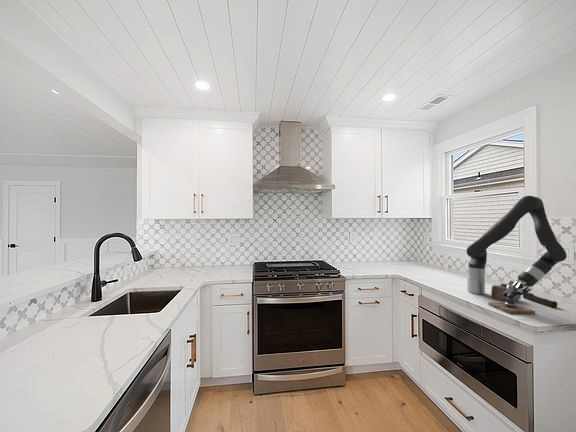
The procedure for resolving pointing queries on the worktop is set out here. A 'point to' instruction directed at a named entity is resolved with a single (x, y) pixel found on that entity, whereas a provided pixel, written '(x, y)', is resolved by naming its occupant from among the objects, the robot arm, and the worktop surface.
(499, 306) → the walnut board
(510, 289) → the round metal knob
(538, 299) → the hand tool
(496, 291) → the food item
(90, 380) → the worktop surface
